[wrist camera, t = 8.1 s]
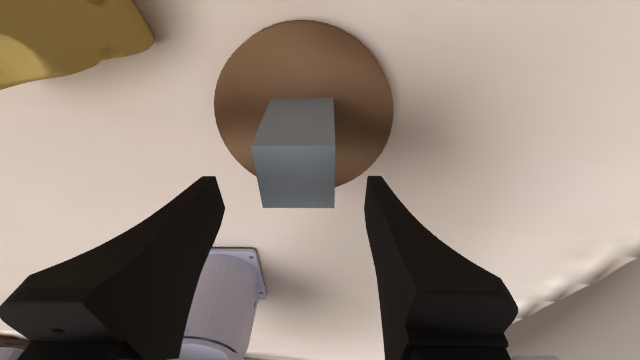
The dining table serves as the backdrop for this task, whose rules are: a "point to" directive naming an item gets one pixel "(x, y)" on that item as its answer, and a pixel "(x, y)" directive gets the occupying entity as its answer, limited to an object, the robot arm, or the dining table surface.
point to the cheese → (66, 36)
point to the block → (296, 153)
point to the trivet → (306, 90)
